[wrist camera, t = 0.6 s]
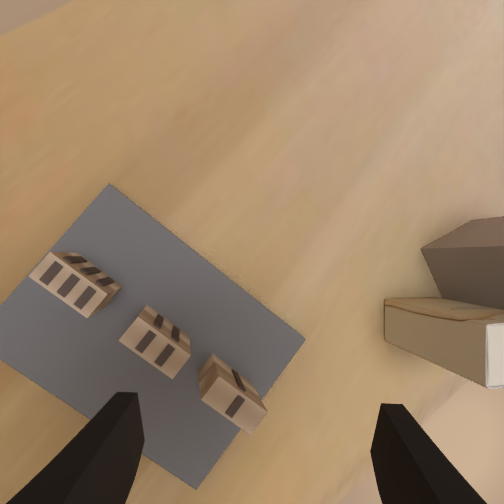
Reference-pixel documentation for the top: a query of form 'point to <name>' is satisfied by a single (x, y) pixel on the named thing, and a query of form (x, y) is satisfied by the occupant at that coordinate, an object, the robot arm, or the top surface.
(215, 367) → the tile one
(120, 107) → the top surface
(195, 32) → the top surface
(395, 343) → the skincare box
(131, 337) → the tile two
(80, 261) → the tile three
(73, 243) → the mat
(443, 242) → the perfume bottle
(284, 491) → the top surface
